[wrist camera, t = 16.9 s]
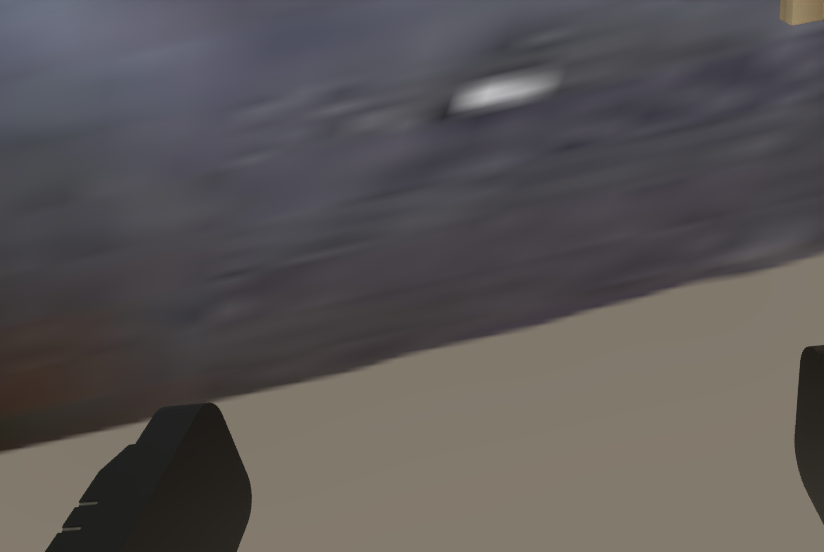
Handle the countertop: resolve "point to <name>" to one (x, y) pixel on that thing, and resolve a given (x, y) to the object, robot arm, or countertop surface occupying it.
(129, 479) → the robot arm
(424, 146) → the countertop surface
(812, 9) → the bar
